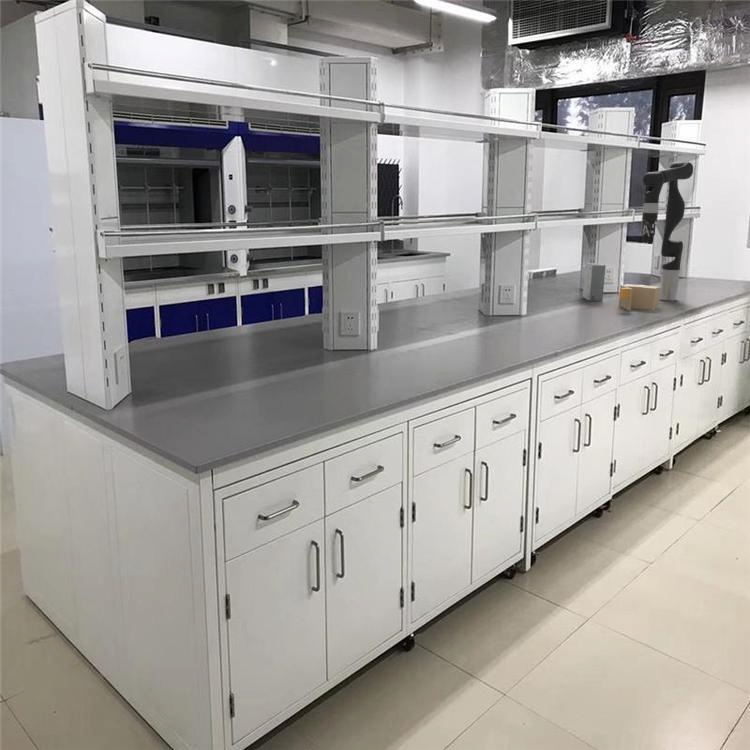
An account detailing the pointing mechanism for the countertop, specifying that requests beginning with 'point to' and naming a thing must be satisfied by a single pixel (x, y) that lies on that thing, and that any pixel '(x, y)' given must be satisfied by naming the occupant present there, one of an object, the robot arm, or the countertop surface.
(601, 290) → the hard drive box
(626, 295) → the flap
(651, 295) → the carton
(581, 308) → the countertop surface
